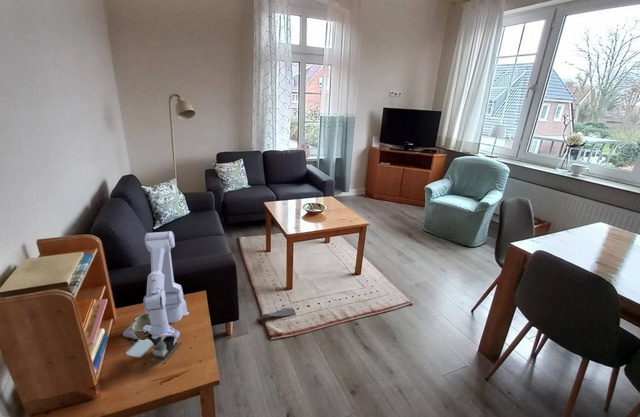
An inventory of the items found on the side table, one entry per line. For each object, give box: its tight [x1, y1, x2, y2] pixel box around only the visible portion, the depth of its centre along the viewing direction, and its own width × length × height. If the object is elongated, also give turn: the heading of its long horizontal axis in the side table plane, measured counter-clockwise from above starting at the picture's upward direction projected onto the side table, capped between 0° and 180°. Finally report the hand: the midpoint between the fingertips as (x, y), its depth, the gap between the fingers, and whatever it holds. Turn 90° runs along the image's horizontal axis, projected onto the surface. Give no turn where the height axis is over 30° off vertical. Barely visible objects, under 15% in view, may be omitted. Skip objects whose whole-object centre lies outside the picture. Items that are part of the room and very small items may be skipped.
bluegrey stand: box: [124, 339, 154, 359], centre depth 123 cm, size 7×10×2 cm
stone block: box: [122, 321, 139, 341], centre depth 132 cm, size 12×5×10 cm
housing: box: [151, 337, 178, 360], centre depth 120 cm, size 8×4×5 cm, turn 168°
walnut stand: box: [148, 342, 182, 364], centre depth 121 cm, size 7×10×2 cm
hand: (164, 347), depth 120 cm, fingers open, 5 cm apart
